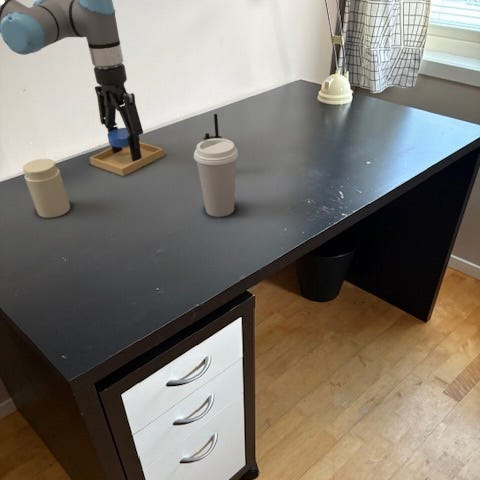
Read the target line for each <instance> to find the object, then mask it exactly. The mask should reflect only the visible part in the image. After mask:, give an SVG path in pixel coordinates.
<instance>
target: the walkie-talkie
mask: <svg viewBox="0 0 480 480" xmlns="http://www.w3.org/2000/svg"><path fill="white" fill-rule="evenodd" d="M213 122H214V135H210V133H208V132H206V133H205V134H204V135H205V136H204V137H203V140H202V141H204V140H208V139H214V138H221V139H223V137H222V136H221V135H220V134H219V119H218V113H214V114H213Z"/></svg>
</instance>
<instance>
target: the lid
mask: <svg viewBox="0 0 480 480" xmlns="http://www.w3.org/2000/svg"><path fill="white" fill-rule="evenodd" d="M127 136H129V134H128V131H127V129H126V127H120V128H119V127H118V129H115V130H112V131H110V132H109V133H108V132H107V140H108V144H109V145H110V146H111V147H112V146H114V147H128V146H129V142H128V137H127ZM138 137H139V138H140V135H139V136H138Z"/></svg>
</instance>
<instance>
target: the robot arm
mask: <svg viewBox="0 0 480 480" xmlns="http://www.w3.org/2000/svg"><path fill="white" fill-rule="evenodd" d="M33 3H34V4H32V6H30V7H28V6H26V5H24V4H23V3H21V2H20V1H18V0H0V35H1V38H2V40H3V42H4V44H6V45H7V46H8V48H9V49H10V50H11V51H12V52H14V53H15V54H18V55H21V56H24V55H25V56H27V55H29V54H35V53H37V52H39V51H41V50H42V49H44V48H46V47H48V46H50V45H53V44H55V43H57V42H59V41H61V40H63V39H66V38H86V42H87V46H88V50H89V51H88V52H89V55H90V59H91V64H92V66H94V67H93V73H94V77H95V82H96V84H98V85H96V86H94V91H95V94H96V98H97V106H98V112H99V113H98V114H99V121H100V124H101V125H104V127H105V128H106V130H107V134H108V133H109V132H110V131H112V130H115V129H119V127H118V126H117V125H118V123H117V122H116V117H117V115H116V114H117V112H119V115H120V118H121V119H122V122H123V124H124V126H125V127H124V128H126V129H127V131H128V134H129V136H127V137H128V142H129V147H130V152H131V157H132V161H137V160H139V159H141V158H142V157H141V151H140V143H139V142H140V136H141V135H143V134H144V130H143V126H142V122H141V120H140V119H141V118H140V115H139V112H138V108H137V105H136V97H135V94H134V92H131V93H128V92H127V89H126V87H125V83H126V82H127V80H128V77H127V72H126V67H125V64H124V57H123V51H122V46H121V41H120V35H119V30H118V24H117V23H118V22H117V18H116V9H115V7H114V2H113V0H38V1H37V0H35V1H34V2H33ZM138 136H139V137H138ZM111 148H112V151H113V153H117V152H120V151H122V147H114V146H111Z"/></svg>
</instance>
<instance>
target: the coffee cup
mask: <svg viewBox="0 0 480 480" xmlns="http://www.w3.org/2000/svg"><path fill="white" fill-rule="evenodd" d="M203 140H204V139H203ZM203 140H201V141H200V142H198V143H197V145H196V149H195V150H194V152H193V159H194V161H196V165H197V170H198V177H199V180H200V185H201V192H202V196H203V203H204V208H205V212H206V213H207V215H209V216H211V217H216V218H223V217H227V216H229V215H231V214H232V213H233V212H234V211H235V197H236V175H237V174H236V173H237V159H238V158H239V150H238V149H237V147H236V145H235V143H234V142H233V141H232V140H230V139H226V138H222V139H221V138H214V139H208V140H204V141H203Z"/></svg>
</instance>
